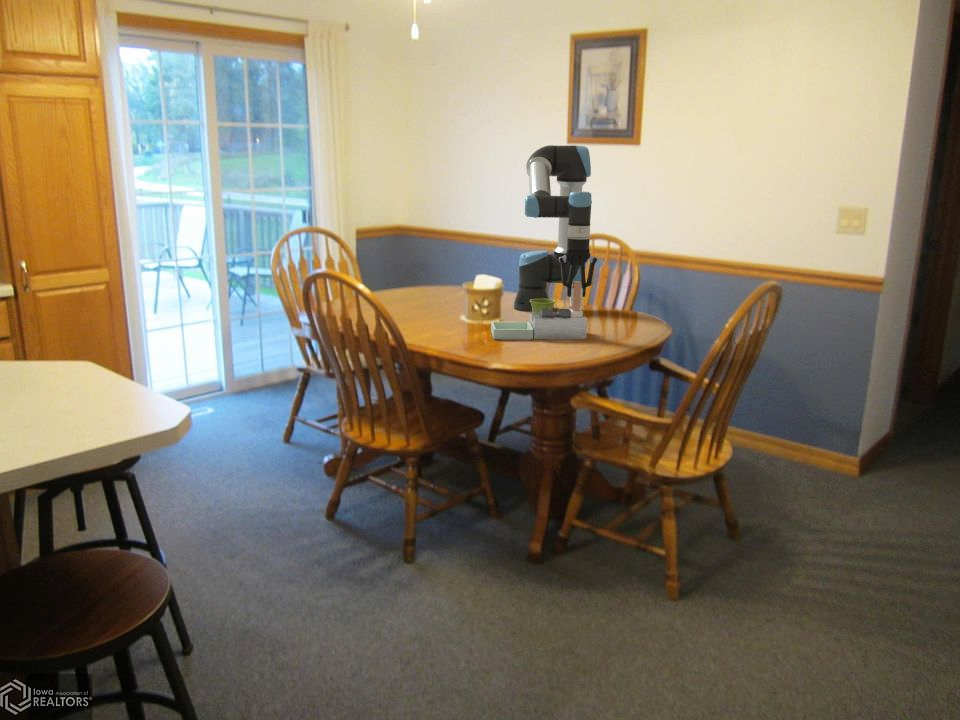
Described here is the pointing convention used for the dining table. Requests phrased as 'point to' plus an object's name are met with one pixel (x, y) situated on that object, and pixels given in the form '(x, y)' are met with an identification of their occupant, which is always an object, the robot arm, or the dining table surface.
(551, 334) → the slot block
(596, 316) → the dining table surface
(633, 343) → the dining table surface
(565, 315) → the grey cube
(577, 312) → the scraper
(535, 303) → the plant pot
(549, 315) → the chip
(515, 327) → the tray
